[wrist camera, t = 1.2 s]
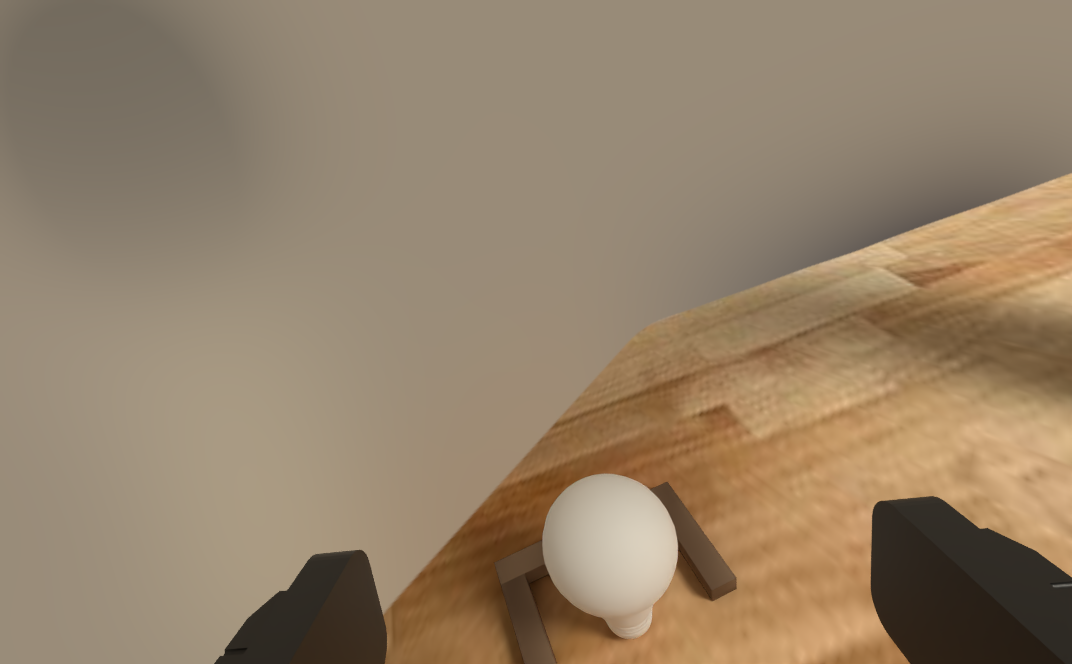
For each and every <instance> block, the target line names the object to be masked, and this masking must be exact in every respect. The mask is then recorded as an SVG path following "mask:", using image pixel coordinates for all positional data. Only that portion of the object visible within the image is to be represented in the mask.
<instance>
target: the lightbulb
mask: <svg viewBox="0 0 1072 664" xmlns="http://www.w3.org/2000/svg"><path fill="white" fill-rule="evenodd" d="M542 547H543V556H544V561H545V565H546V568H547V570H548V572H549V575H550V577H551V579H552V582H553V583H554V585H555V586H556V588H557V589H558V590H559V592H560V593H561V594H562V595H563V596H564V597H565V598H566V599H567V600H569V601H570V602H571V603H572V604H573V605H574V606H575V607H577V608H579V609H580V610H582V611H584V612H585V613H588V614H591V615H594V616H597V617H602V618H603V619H604V620H605V621H606V623H607V624H608V626H609V628H610V629H611V630H612V632H613V633H615V634H616V635H617V636H619V637H621V638H624V639H635V638H638V637H640V636H642V635H643V634H644V633H645V632H646V631H647V630H648V628H649V626H650V624H651V620H652V608H653V604H654V603H655V602H656V601H658V600H659V599H660V598H661V596H662V595H663V594H664V592H665V591H666V590H667V588H668V586H669V584H670V582H671V580H672V578H673V575H674V572H675V568H676V564H677V559H678V542H677V536H676V531H675V526H674V524H673V522H672V519H671V517H670V515H669V513H668V511H667V509H666V508H665V506H664V505H663V504H662V502H661V501H660V499H659V498H658V497H657V496H656V495H655V494H654V493H653V492H652V491H650V490H649V489H648V488H647V487H646V486H644V485H643V484H641V483H639V482H638V481H635V480H633V479H630V478H628V477H625V476H621V475H616V474H597V475H592V476H588V477H585V478H583V479H581V480H578V481H576V482H575V483H573V484H572V485H570V486H569V487H567V488H566V489H565V490H564V491H563V492H562V493H561V494H560V495H559V496H558V498H557V499H556V500H555V502H554V503H553V505H552V506H551V508H550V510H549V512H548V515H547V517H546V521H545V526H544V530H543V542H542Z"/></svg>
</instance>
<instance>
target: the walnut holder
mask: <svg viewBox="0 0 1072 664" xmlns="http://www.w3.org/2000/svg"><path fill="white" fill-rule="evenodd" d="M650 491H652V492H653V493H654V494H655V495H656V496H657V497H658V498H659V499H660V501H661V502H662V504H663V505H664V506H665V508H666V509H667V511H668V513H669V515H670V517H671V519H672V522H673V524H674V526H675V531H676V536H677V542H678V549H679V550H680V552H681V553H682V555H683V556H684V558H685V559H686V561H687V562H688V564H689V565H690V567H691V569H692V570H693V572H694V573H695V575H696V576H697V578H698V579H699V581H700V582H701V584H702V585H703V587H704V589H705V590H706V592H707V593H708V595H709V596H710V598H711V599H712V601H714V600H716V599H718V598H720V597H721V596H723V595H725V594H727V593H729V592H731V591H733V590H735V589H736V577H735V575H734V574H733V573H732V571H731V570H730V568H729V567H728V566H727V564H726V563H725V561H724V560H723V559H722V557H721V556H720V554H719V553H718V552H717V550H716V549H715V547H714V546H713V545H712V543H711V542H710V541H709V539H708V538H707V536H706V535H705V534H704V532H703V531H702V529H701V528H700V527H699V525H698V524H697V522H696V521H695V520H694V518H693V517H692V515H691V514H690V513H689V511H688V510H687V508H686V507H685V506H684V504H683V503H682V501H681V500H680V499H679V497H678V496H677V495H676V493H675V492H674V490H673V489H672V488H671V486H670V485H669V483H668V482H665V483H663V484H661V485H659V486H657V487H655V488H653V489H650ZM542 542H543V540H542V541H539V542H537V543H535V544H533V545H531V546H529V547H527V548H524V549H522V550H520V551H518V552H516V553H514V554H512V555H510V556H507V557H505V558H503V559H501V560H499V561H497V562H495V563H494V564H495V567H496V570H497V574H498V577H499V580H500V584H501V587H502V590H503V594H504V597H505V600H506V604H507V607H508V610H509V614H510V617H511V620H512V624H513V627H514V630H515V634H516V637H517V640H518V644H519V647H520V650H521V654H522V657H523V660H524V663H525V664H557V662H556V659H555V656H554V653H553V650H552V648H551V645H550V642H549V639H548V636H547V633H546V630H545V628H544V625H543V622H542V619H541V616H540V613H539V610H538V608H537V605H536V602H535V599H534V596H533V593H532V590H531V588H530V585H529V583H531V582H533V581H535V580H537V579H540V578H542V577H544V576H546V575H548V574H549V572H548V570H547V568H546V565H545V561H544V556H543V547H542Z"/></svg>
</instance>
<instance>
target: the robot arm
mask: <svg viewBox="0 0 1072 664" xmlns="http://www.w3.org/2000/svg"><path fill="white" fill-rule="evenodd" d="M871 593H872V598H873V602H874V606H875V609H876V612H877V614H878V617H879V619H880V621H881V623H882V625H883V627H884V628H885V630H886V632H887V633H888V635H889V636H890V637H891V639H892V640H893V641H894V643H895V644H896V645H897V647H898V648H899V649H900V651H901V652H902V653H903V654H904V656H905V657H906V658H907V660H908V661H909V662H910V664H1072V577H1070V576H1069V575H1068V574H1066V573H1065V572H1064V571H1062V570H1061V569H1059V568H1058V567H1057V566H1055V565H1054V564H1053V563H1051V562H1050V561H1049V560H1047V559H1046V558H1045V557H1043V556H1042V555H1040V554H1039V553H1038V552H1036V551H1035V550H1033V549H1030V548H1028V547H1026V546H1024V545H1022V544H1020V543H1018V542H1016V541H1013V540H1011V539H1009V538H1007V537H1005V536H1003V535H1001V534H999V533H997V532H994V531H992V530H990V529H988V528H985V529H979V528H978V527H977V526H976V525H974V524H973V523H972V522H970V521H969V520H968V519H967V518H965V517H964V516H963V515H961V514H960V513H959V512H958V511H956V510H955V509H954V508H953V507H951V506H950V505H949V504H947V503H946V502H945V501H943V500H942V499H940V498H938V497H934V496H929V497H919V498H908V499H898V500H888V501H879V502H877V504H876V505H875V506H874V509H873V514H872V550H871ZM386 650H387V633H386V626H385V622H384V618H383V614H382V610H381V606H380V602H379V598H378V594H377V590H376V586H375V582H374V578H373V575H372V571H371V567H370V563H369V560H368V557H367V555H366V554H365V553H364V551H362V550H355V551H344V552H334V553H323V554H316V555H313V556H312V557H311V558H310V559H309V560H308V561H307V563H306V564H305V566H304V567H303V569H302V570H301V571H300V573H299V574H298V576H297V577H296V579H295V580H294V582H293V583H292V585H291V586H290V588H289V589H288V590H287V591H279V592H278V593H277V594H276V595H274V597H272V598H271V599H270V600H269V601H267V602H266V603H265V604H264V605H263V606H262V607H260V608H259V609H258V610H257V611H256V612H255V613H253V614H252V615H251V616H250V617H249V618H248V619H247V620H246V622H245V623H244V624H243V626H242V627H241V628H240V630H239V631H238V632H237V634H236V635H235V636H234V638H233V639H232V641H231V642H230V643H229V645H228V646H227V647H226V649H225V654H224V656H220V657H219V658H218V659H217V661H216V662H215V664H384V663H385V658H386Z"/></svg>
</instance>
